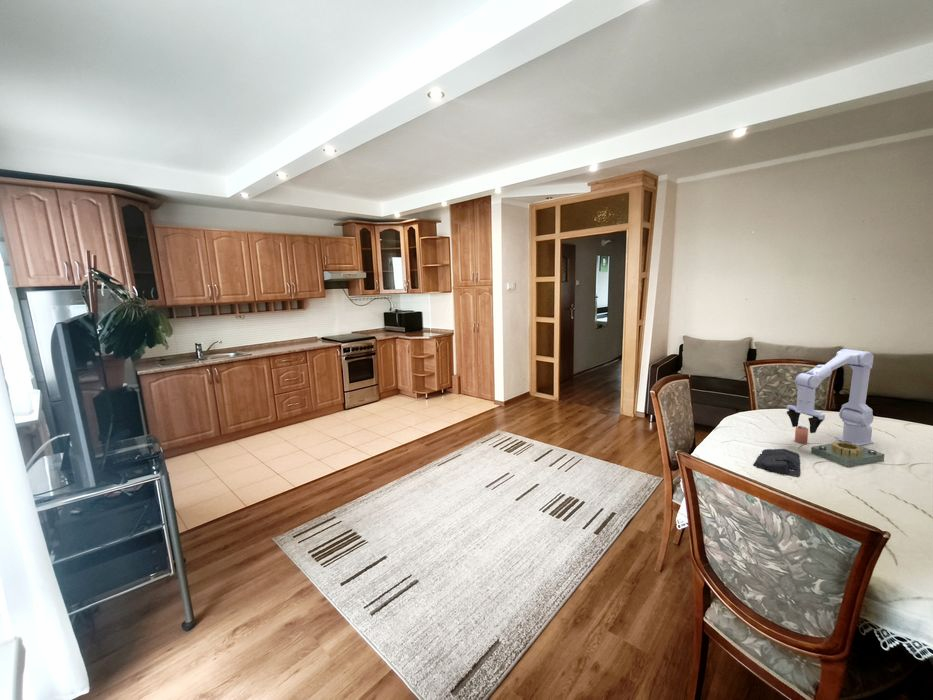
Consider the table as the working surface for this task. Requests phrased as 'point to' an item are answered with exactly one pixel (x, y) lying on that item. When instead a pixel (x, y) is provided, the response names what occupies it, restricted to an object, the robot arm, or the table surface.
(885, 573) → the table surface
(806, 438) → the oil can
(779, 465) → the dark slate chunk
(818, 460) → the table surface
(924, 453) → the table surface
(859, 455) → the metal plate with ring
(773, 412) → the table surface
